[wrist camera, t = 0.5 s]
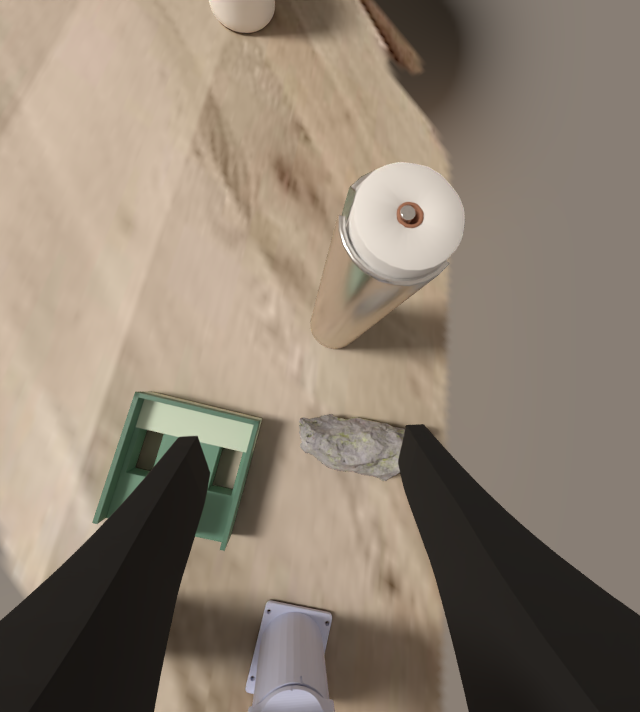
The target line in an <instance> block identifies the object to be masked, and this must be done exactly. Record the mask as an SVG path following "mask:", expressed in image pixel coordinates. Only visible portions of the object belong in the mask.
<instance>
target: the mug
mask: <svg viewBox="0 0 640 712" xmlns="http://www.w3.org/2000/svg"><path fill="white" fill-rule="evenodd" d="M209 3H210V6H211V9H212V12H213V14H214V15H215V17H216V18H217V20H218V21H220V22H221V23H222V24H223V25H224V26H226V27H227V28H229V29H231V30H233V31H236V32H239V33H252V32H256V31H259V30H261V29H262V28H264V27H265V26H266V25H267V24H268V23H269V22H270V20H271V19H272V17H273V15H274V11H275V0H209Z"/></svg>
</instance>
